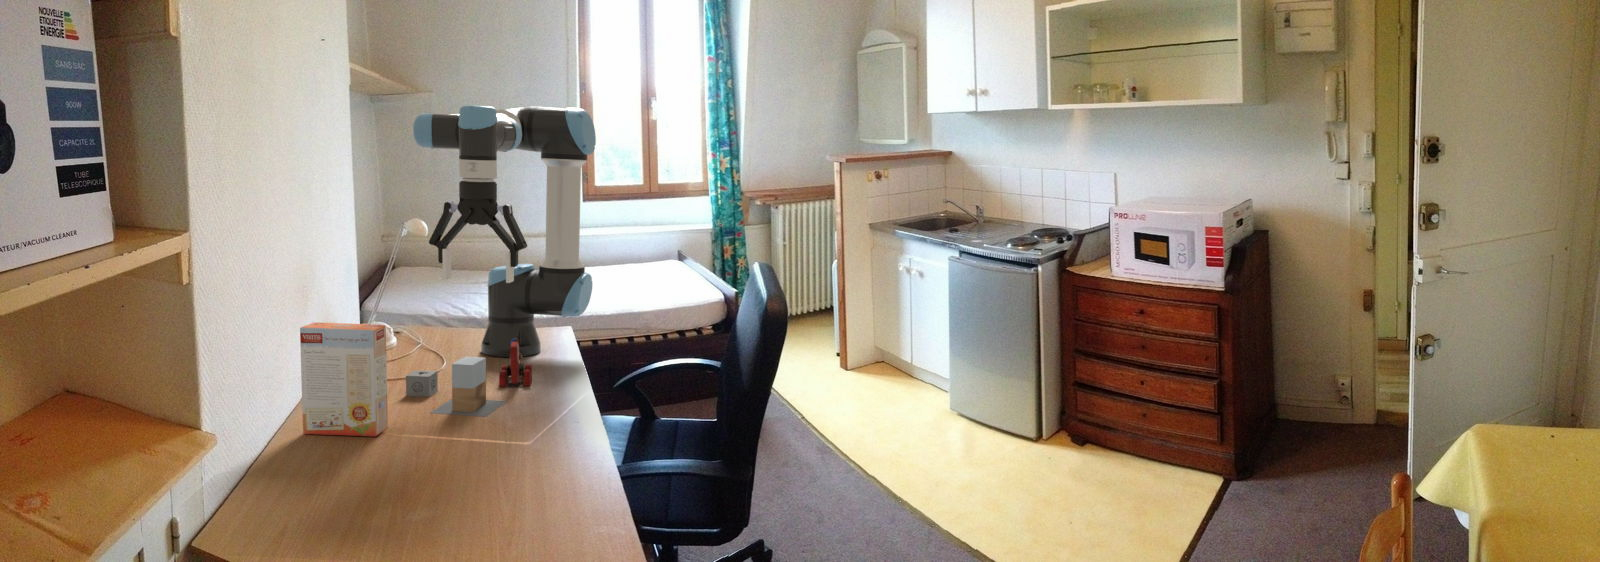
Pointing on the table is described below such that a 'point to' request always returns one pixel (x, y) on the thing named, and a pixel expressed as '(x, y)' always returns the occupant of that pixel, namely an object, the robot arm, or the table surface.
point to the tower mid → (468, 372)
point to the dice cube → (421, 383)
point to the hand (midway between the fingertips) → (478, 280)
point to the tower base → (468, 398)
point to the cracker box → (344, 379)
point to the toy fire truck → (515, 368)
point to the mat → (482, 411)
